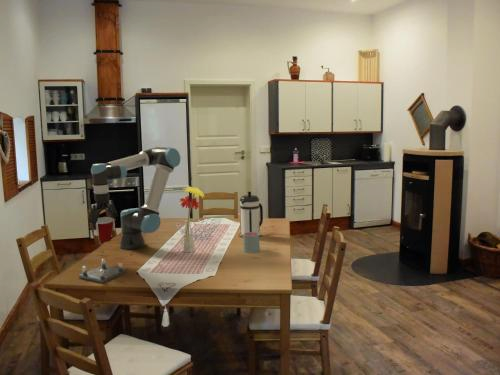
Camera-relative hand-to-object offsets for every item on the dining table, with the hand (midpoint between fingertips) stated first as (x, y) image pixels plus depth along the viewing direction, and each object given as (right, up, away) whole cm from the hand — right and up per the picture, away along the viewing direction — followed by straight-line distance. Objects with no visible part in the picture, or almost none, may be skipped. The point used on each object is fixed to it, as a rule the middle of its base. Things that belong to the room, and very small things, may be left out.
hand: (104, 232), depth 228 cm
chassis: (+5, -19, -17) cm, 26 cm away
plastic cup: (0, -5, +1) cm, 5 cm away
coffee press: (+79, -8, +50) cm, 94 cm away
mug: (+80, -12, +21) cm, 84 cm away
